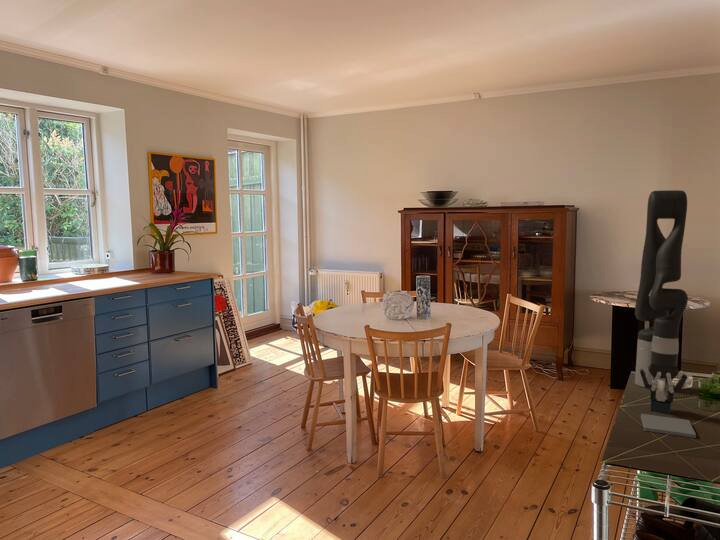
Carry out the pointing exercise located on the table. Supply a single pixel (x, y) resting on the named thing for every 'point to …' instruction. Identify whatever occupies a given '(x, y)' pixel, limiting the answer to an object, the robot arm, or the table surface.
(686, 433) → the mat
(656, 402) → the watch
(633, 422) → the table surface
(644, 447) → the table surface
